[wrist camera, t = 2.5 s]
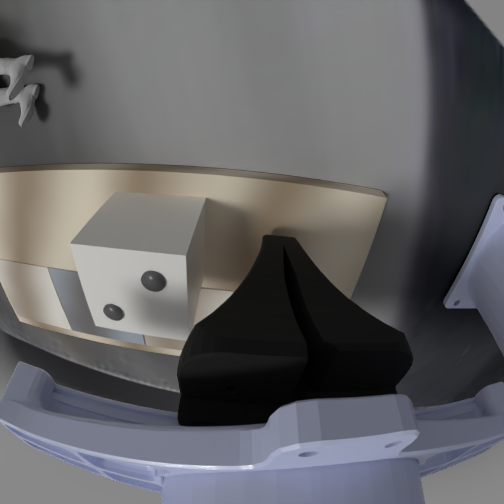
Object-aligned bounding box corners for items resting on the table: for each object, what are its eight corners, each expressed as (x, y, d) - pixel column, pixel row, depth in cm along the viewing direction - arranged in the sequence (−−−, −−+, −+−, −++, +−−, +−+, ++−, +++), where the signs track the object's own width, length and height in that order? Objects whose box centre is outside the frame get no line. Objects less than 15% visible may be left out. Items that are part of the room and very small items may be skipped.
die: (205, 197, 12) (185, 257, 9) (203, 274, 14) (189, 343, 11) (115, 191, 12) (68, 245, 8) (125, 266, 14) (94, 327, 11)
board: (381, 190, 12) (388, 199, 12) (318, 356, 19) (319, 367, 18) (-27, 170, 11) (-36, 176, 11) (24, 314, 18) (19, 322, 17)
